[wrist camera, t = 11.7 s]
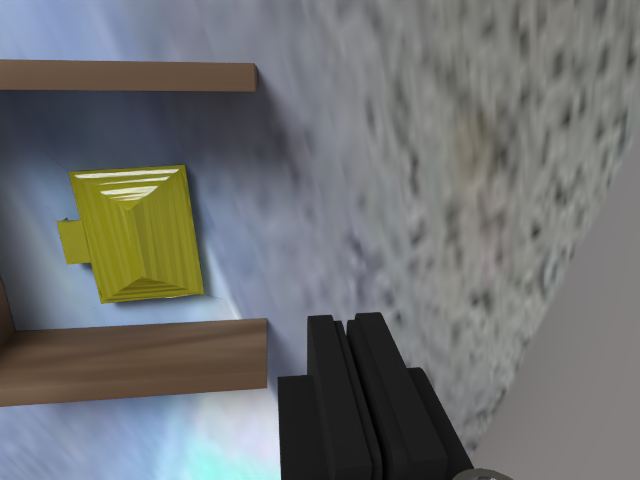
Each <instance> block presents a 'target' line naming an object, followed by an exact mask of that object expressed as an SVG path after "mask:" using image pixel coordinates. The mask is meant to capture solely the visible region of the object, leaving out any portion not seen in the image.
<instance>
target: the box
mask: <svg viewBox="0 0 640 480" xmlns="http://www.w3.org/2000/svg"><path fill="white" fill-rule="evenodd" d="M257 89H258V86H257V66H256V65H255V64H254V63H199V62H133V61H68V60H2V59H0V90H125V91H253V92H255V91H256V90H257ZM261 388H267V320H266V318H263V319H244V320H225V321H206V322H186V323H167V324H148V325H128V326H109V327H90V328H71V329H51V330H32V331H16V330H15V327H14V323H13V319H12V316H11V312H10V309H9V305H8V302H7V298H6V295H5V291H4V287H3V284H2V280H1V277H0V407H5V406H19V405H34V404H48V403H62V402H76V401H90V400H105V399H119V398H133V397H147V396H162V395H176V394H190V393H204V392H219V391H233V390H247V389H261Z"/></svg>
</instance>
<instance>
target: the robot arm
mask: <svg viewBox="0 0 640 480" xmlns="http://www.w3.org/2000/svg"><path fill="white" fill-rule="evenodd" d="M278 411H279V440H280V465H281V480H513V479H511V478H510V477H508V476H506V475H503V474H501V473H498V472H496V471H493V470H487V469H482V468H479V469H474V467H473V465H472V463H471V461H470V459H469V457H468V455H467V453H466V451H465V449H464V448H463V446H462V444H461V442H460V440H459V438H458V436H457V434H456V432H455V430H454V428H453V426H452V424H451V422H450V420H449V418H448V417H447V415H446V413H445V411H444V409H443V407H442V405H441V403H440V401H439V399H438V397H437V395H436V393H435V391H434V389H433V387H432V385H431V384H430V382H429V380H428V378H427V376H426V374H425V372H424V371H423V369H421V368H420V367H416V368H406V366H405V363H404V361H403V359H402V357H401V355H400V353H399V351H398V348H397V346H396V344H395V342H394V340H393V338H392V335H391V333H390V331H389V329H388V327H387V325H386V323H385V320H384V318H383V316H382V314H381V313H380V312H374V313H357V314H356V316H355V320H348V321H347V332H346V334H345V331H344V327H343V324H342V321H334V320H333V317H332V315H317V316H308V320H307V375H301V376H286V377H278Z"/></svg>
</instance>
